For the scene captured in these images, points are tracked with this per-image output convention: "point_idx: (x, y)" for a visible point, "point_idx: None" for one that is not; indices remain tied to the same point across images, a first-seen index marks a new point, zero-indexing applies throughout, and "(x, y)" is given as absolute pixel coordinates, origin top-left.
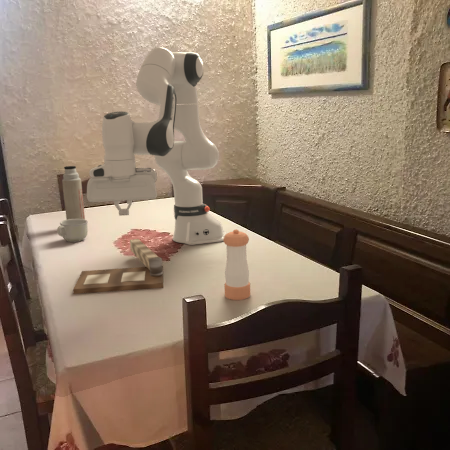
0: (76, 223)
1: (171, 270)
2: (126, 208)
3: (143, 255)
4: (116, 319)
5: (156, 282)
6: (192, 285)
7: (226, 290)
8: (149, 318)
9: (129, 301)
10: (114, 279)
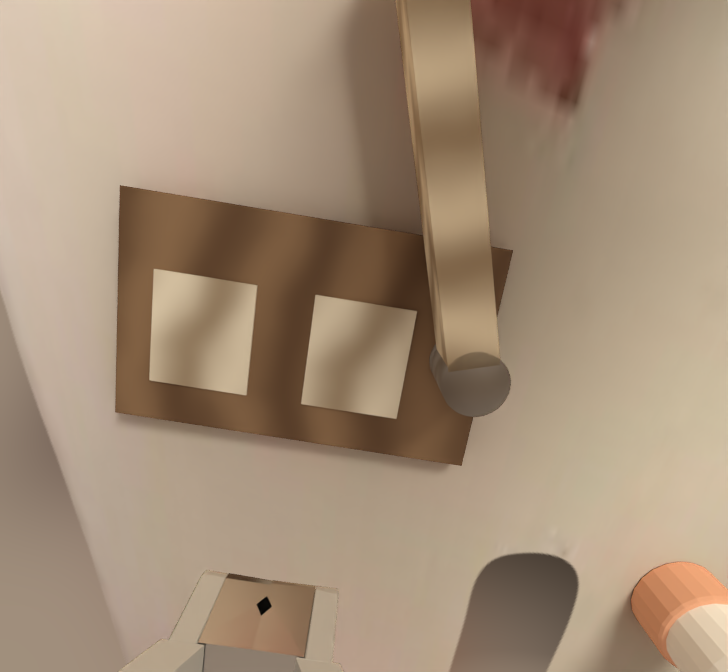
0: None
1: (539, 270)
2: (293, 655)
3: (431, 241)
4: None
5: (438, 454)
6: (566, 471)
7: (648, 629)
8: (370, 655)
9: (325, 531)
10: (275, 360)
